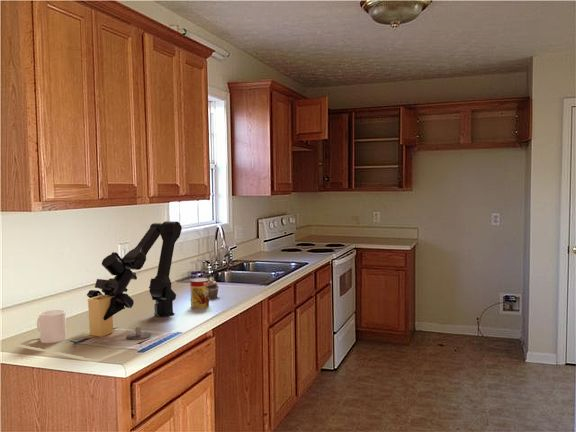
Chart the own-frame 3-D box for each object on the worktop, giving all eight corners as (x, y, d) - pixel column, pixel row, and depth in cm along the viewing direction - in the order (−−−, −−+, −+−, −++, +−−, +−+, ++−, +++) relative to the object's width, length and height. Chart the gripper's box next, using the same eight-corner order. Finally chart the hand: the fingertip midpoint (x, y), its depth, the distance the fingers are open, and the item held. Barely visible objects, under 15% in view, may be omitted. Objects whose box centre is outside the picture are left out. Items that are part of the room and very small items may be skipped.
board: (82, 339, 179) (81, 327, 179) (101, 331, 189) (101, 319, 189) (140, 344, 173) (140, 331, 172) (157, 334, 183) (156, 322, 183)
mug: (28, 342, 177) (26, 313, 177) (48, 335, 185) (47, 307, 184) (51, 346, 172) (49, 316, 171) (71, 339, 179) (70, 310, 179)
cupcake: (199, 300, 238) (198, 279, 237) (198, 296, 248) (197, 275, 247) (219, 298, 240) (219, 277, 240) (217, 294, 250) (217, 274, 249)
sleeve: (102, 330, 187) (100, 295, 185) (113, 332, 184) (111, 296, 183) (90, 334, 182) (87, 299, 181) (101, 336, 179) (99, 300, 178)
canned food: (210, 307, 223) (209, 280, 222) (192, 309, 221) (191, 281, 220) (207, 303, 230) (206, 277, 230) (189, 305, 228) (189, 278, 227)
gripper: (89, 268, 189) (65, 304, 180) (126, 271, 181) (103, 309, 172) (107, 285, 197) (85, 320, 188) (143, 289, 188) (122, 326, 179)
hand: (98, 318), depth 181 cm, fingers closed on sleeve, 6 cm apart
